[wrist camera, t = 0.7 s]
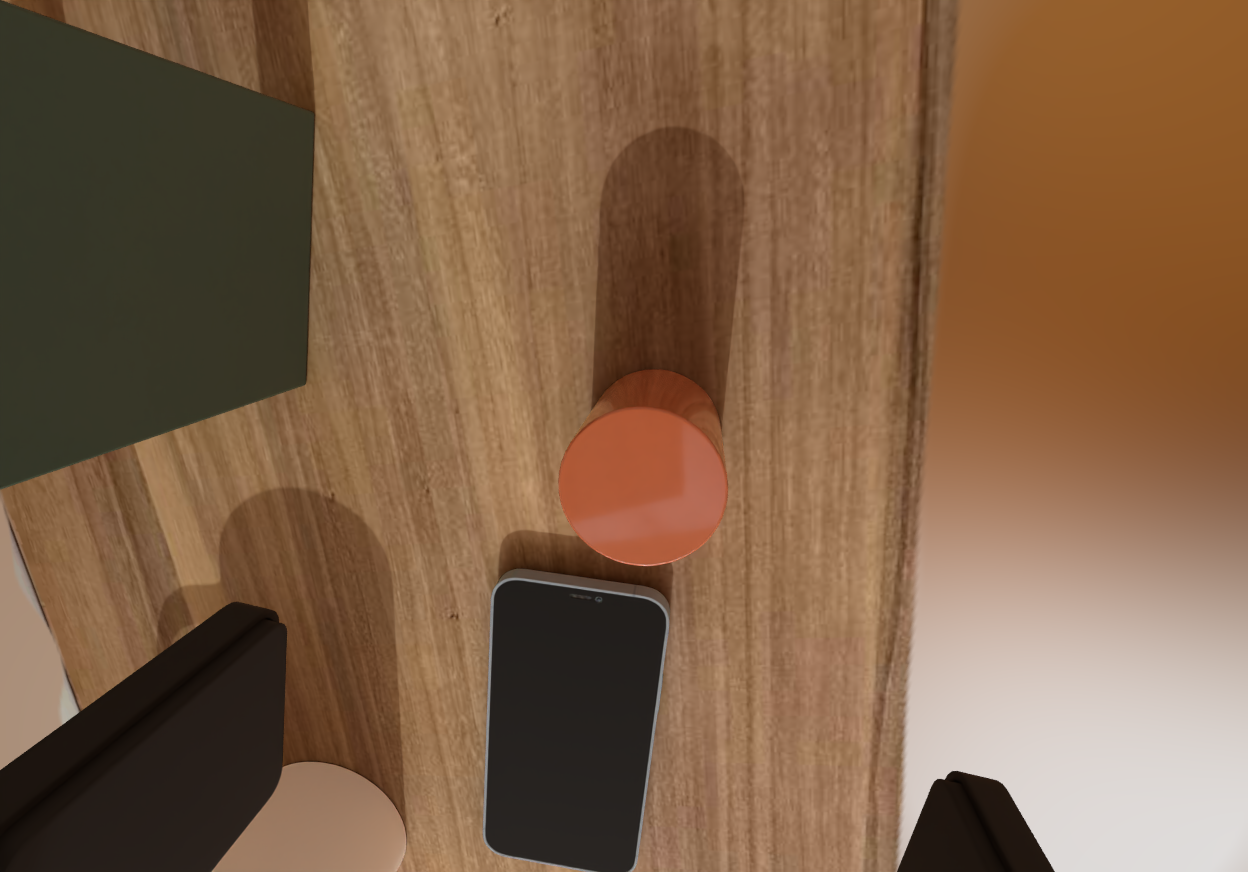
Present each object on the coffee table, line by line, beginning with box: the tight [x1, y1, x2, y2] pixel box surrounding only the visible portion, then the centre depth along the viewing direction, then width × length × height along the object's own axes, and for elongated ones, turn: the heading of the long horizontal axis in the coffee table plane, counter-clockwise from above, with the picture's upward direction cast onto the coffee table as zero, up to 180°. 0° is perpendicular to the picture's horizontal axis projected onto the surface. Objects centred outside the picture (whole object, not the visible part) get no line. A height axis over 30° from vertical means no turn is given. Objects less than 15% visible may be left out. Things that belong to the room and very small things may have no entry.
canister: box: [558, 369, 728, 566], centre depth 21 cm, size 5×5×6 cm
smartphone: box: [483, 569, 670, 872], centre depth 28 cm, size 7×1×15 cm
